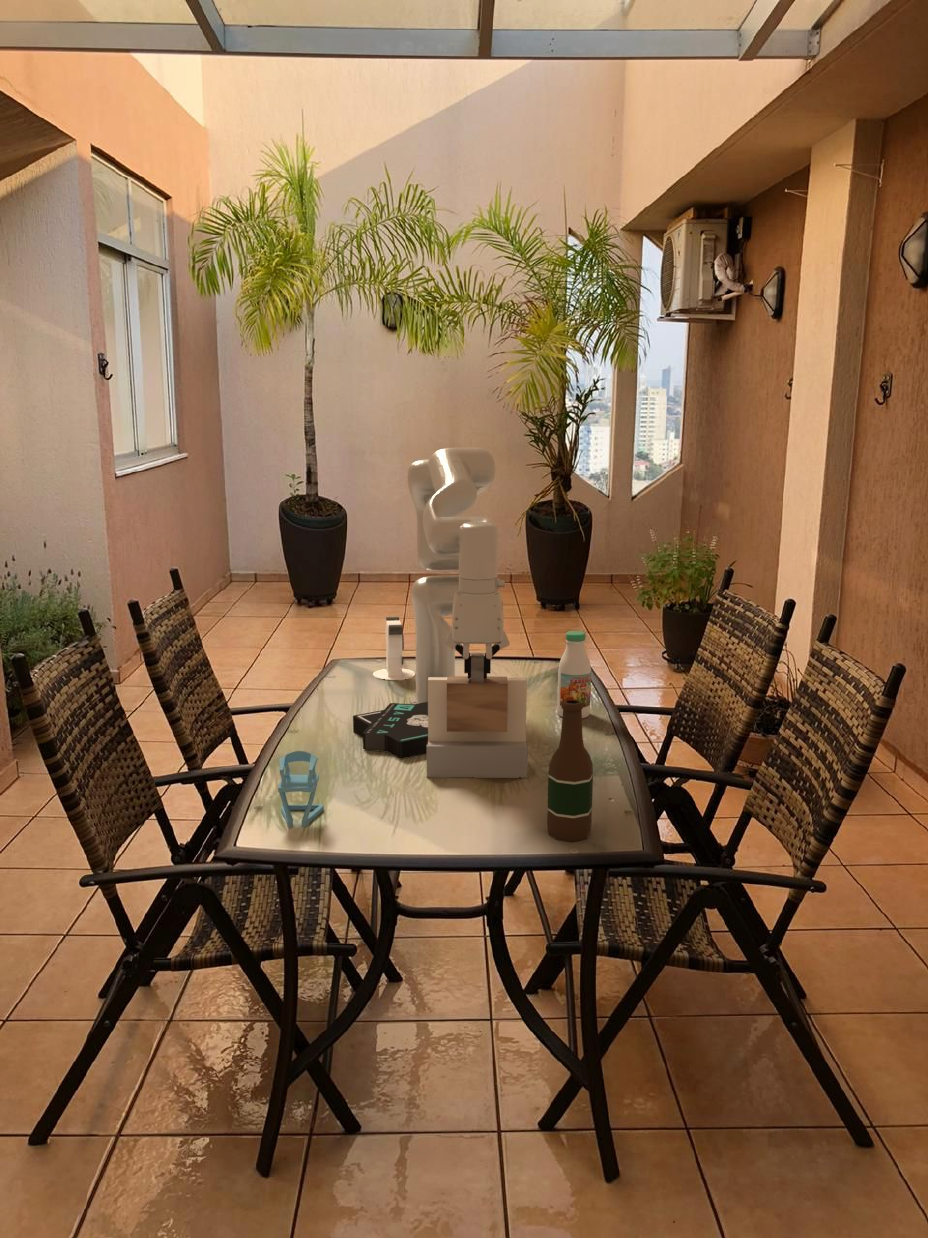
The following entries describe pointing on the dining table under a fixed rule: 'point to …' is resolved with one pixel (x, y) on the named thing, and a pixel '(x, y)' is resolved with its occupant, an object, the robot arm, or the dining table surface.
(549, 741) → the dining table surface
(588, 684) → the milk bottle
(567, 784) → the beer bottle
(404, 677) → the white peg on disc
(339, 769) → the dining table surface
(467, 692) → the walnut cabinet
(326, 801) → the dining table surface
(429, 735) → the wall board
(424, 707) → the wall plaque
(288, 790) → the chair
